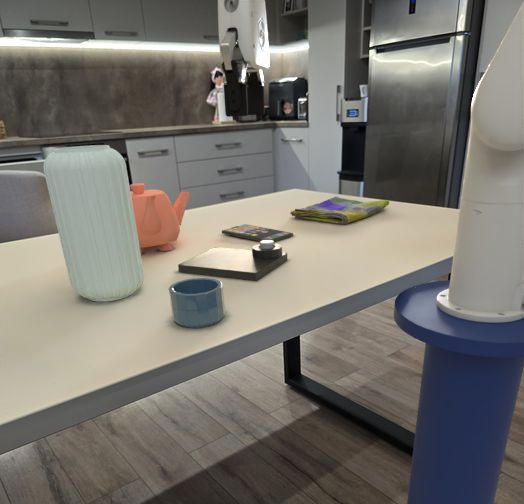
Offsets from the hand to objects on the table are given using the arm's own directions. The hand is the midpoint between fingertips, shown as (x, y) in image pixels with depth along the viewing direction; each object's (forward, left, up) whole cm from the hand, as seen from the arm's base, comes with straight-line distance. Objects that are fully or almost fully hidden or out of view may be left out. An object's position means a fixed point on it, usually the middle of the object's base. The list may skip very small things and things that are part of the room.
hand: (246, 115), depth 72 cm
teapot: (+31, -10, -25) cm, 41 cm away
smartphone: (+14, -27, -25) cm, 40 cm away
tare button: (+2, -8, -23) cm, 24 cm away
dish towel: (+3, -55, -25) cm, 61 cm away
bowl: (-1, +20, -25) cm, 32 cm away
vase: (+19, +16, -25) cm, 35 cm away
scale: (+7, -4, -25) cm, 26 cm away
